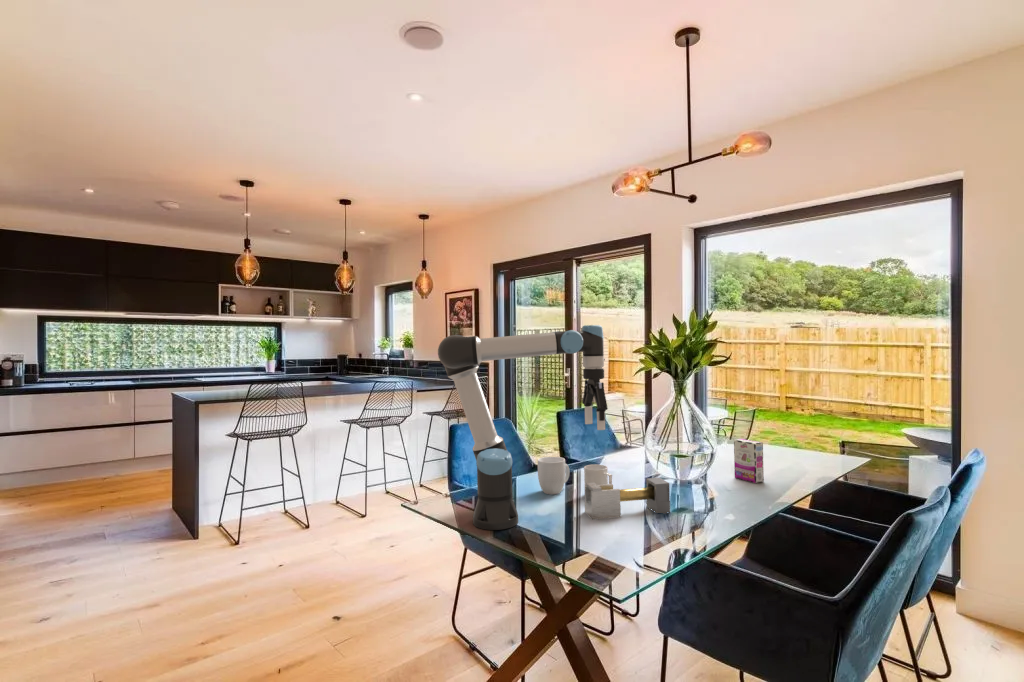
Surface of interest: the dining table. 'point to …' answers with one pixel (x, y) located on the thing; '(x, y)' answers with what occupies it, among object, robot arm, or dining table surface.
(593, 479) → the mug
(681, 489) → the dining table surface
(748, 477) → the candy bar box
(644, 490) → the tube
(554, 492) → the mug
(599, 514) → the grey tube holder
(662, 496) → the socket
